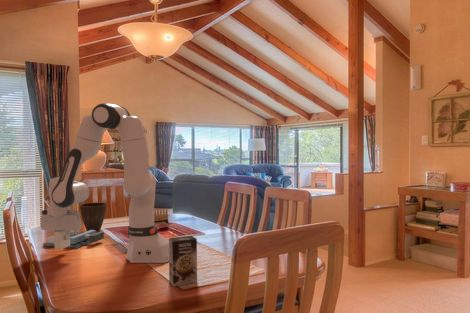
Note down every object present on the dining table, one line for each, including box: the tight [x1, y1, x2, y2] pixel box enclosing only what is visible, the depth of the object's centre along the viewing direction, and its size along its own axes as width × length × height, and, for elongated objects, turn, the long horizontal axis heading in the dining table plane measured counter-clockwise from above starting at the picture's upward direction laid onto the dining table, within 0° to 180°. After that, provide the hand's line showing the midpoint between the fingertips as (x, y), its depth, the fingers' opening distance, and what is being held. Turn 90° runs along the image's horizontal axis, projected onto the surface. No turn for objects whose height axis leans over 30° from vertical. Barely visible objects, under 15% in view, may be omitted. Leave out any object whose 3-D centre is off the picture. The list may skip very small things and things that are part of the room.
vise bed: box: [42, 230, 93, 250], centre depth 190 cm, size 20×20×4 cm
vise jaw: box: [70, 230, 105, 244], centre depth 188 cm, size 11×18×3 cm, turn 166°
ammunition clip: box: [154, 208, 169, 225], centre depth 221 cm, size 11×2×12 cm, turn 117°
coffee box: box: [168, 235, 198, 287], centre depth 131 cm, size 9×6×16 cm
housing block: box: [53, 230, 70, 250], centre depth 169 cm, size 4×6×8 cm, turn 166°
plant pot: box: [79, 202, 107, 233], centre depth 217 cm, size 15×15×16 cm
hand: (62, 239), depth 169 cm, fingers closed on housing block, 3 cm apart
